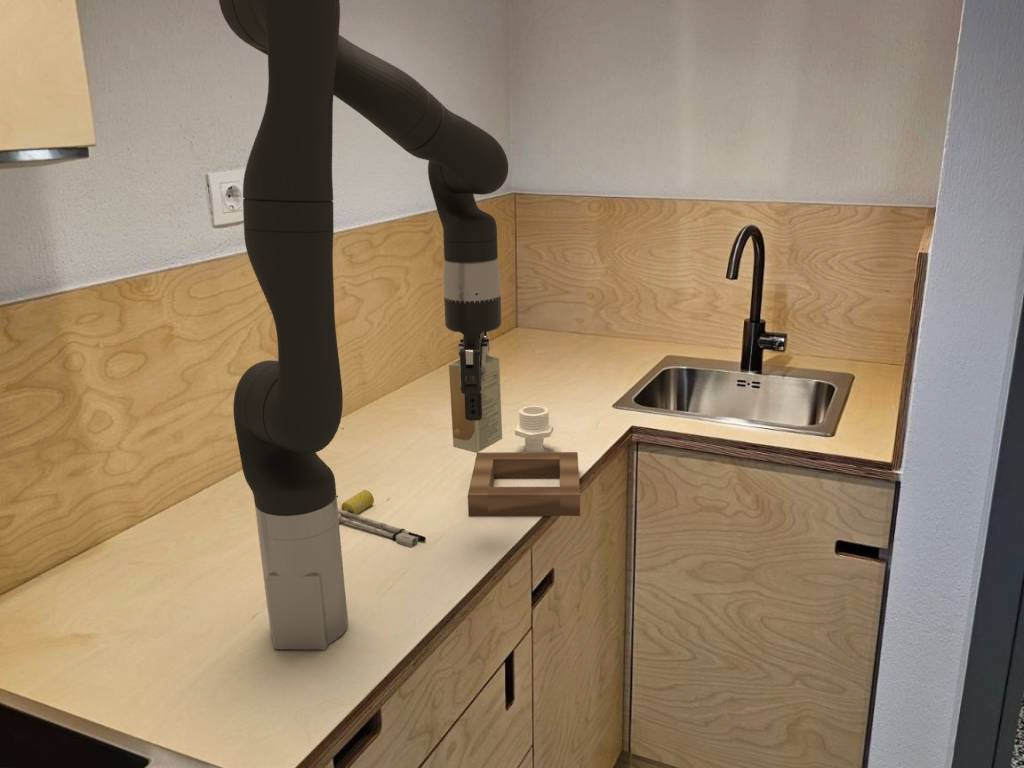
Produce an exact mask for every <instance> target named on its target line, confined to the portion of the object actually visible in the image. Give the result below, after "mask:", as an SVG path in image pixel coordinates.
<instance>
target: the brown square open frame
mask: <svg viewBox="0 0 1024 768" xmlns="http://www.w3.org/2000/svg"><path fill="white" fill-rule="evenodd" d="M578 455H579V453H578V452H577V451H561V452H560V451H555V452H554V451H550V452H549V451H546V452H545V451H543V452H526V451H524V452H523V451H522V452H520V451H519V452H516V451H515V452H514V451H513V452H512V451H511V452H506V451H505V452H504V451H503V452H496V451H495V452H494V451H493V452H490V451H489V452H488V451H487V452H478V453H476V455H475V460H474V464H473V470H472V473H471V478H470V483H469V487H468V492H467V507H468V508H467V509H468V510H467V511H468V517H580V516H581V488H580V487H581V486H580V472H579V471H580V469H579V456H578ZM495 479H496V480H497V479H505V480H507V479H510V480H511V479H516V480H517V479H521V480H522V479H527V480H528V479H529V480H530V479H531V480H534V479H543V480H544V479H547V480H549V479H559V486H494V483H495V482H494V481H495Z"/></svg>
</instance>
